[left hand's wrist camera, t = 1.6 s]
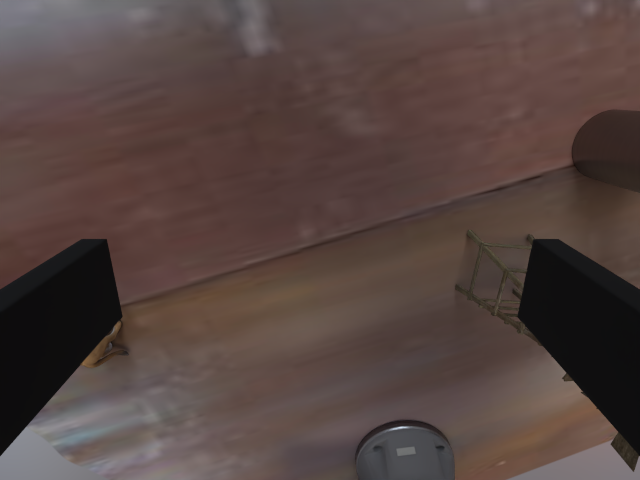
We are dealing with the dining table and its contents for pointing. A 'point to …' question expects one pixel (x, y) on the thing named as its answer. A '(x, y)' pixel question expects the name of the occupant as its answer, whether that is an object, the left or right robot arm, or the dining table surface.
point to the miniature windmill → (618, 442)
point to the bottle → (610, 148)
